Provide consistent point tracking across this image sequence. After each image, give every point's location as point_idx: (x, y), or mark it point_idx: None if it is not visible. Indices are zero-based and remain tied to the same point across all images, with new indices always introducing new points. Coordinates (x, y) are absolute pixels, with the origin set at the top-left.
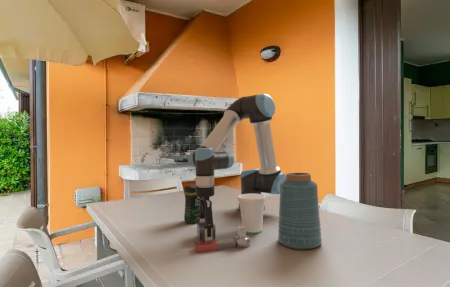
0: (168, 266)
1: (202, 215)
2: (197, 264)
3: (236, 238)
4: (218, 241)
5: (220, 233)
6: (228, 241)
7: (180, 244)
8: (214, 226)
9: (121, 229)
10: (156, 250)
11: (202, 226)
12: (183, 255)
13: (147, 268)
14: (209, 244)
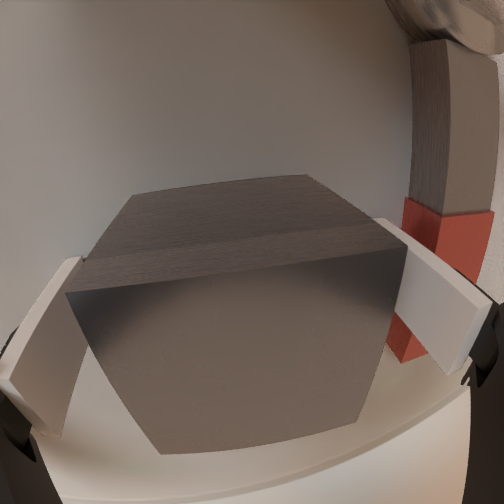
0: (455, 376)
1: (33, 468)
2: (500, 296)
3: (486, 36)
4: (468, 192)
5: (66, 102)
6: (488, 112)
7: None
8: (398, 256)
9: (91, 496)
10: (315, 446)
11: (340, 407)
12: (419, 361)
13: (428, 413)
14: (480, 268)
